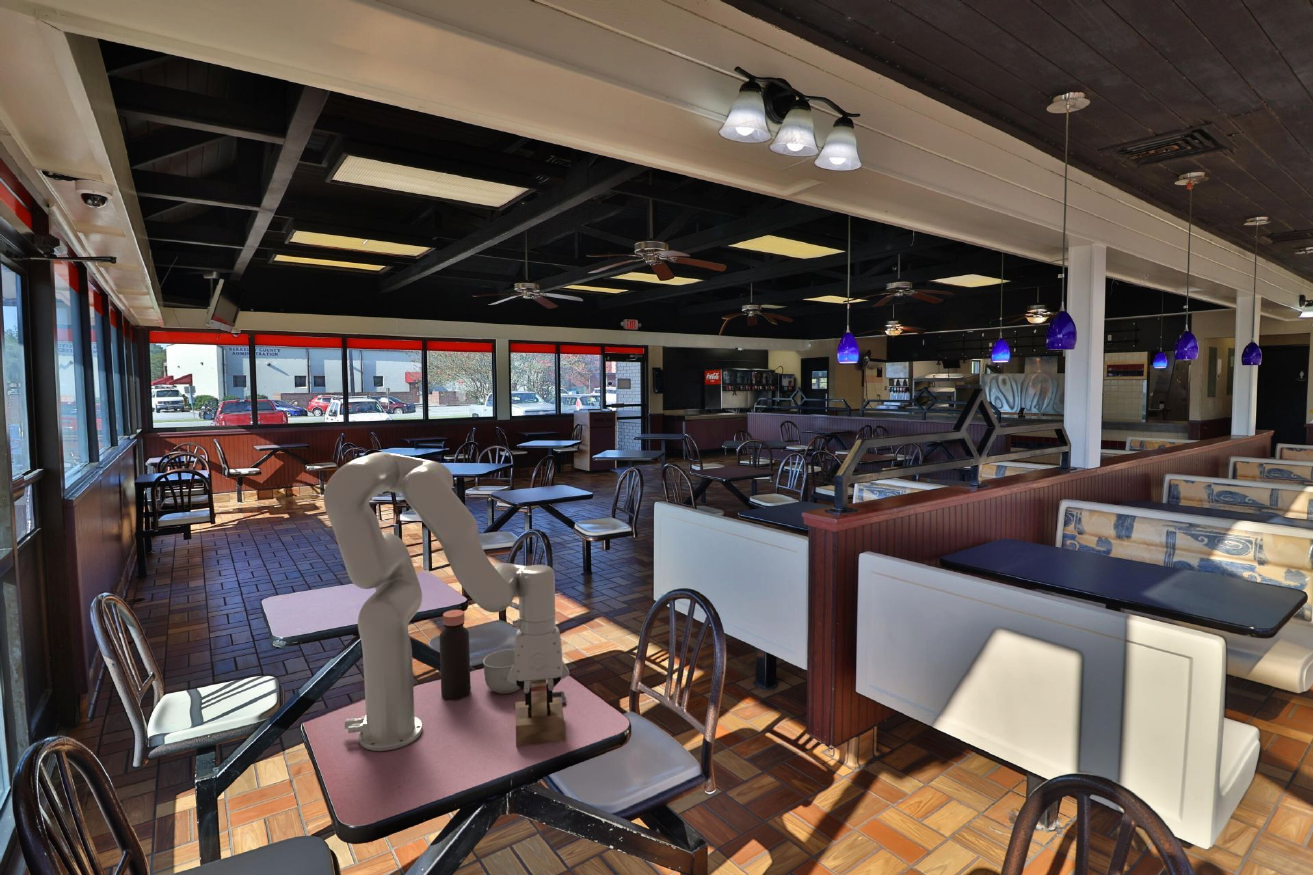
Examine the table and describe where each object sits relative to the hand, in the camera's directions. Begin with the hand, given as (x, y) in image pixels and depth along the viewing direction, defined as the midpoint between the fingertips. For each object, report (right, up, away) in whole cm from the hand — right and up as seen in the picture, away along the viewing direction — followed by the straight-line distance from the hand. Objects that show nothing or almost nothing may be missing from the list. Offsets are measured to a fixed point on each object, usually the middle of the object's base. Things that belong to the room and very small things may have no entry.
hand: (539, 705), depth 142 cm
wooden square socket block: (0, -6, +1) cm, 6 cm away
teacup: (-11, -4, +21) cm, 24 cm away
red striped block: (0, -3, 0) cm, 3 cm away
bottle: (-23, -4, +17) cm, 29 cm away
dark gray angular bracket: (0, -4, +13) cm, 14 cm away
